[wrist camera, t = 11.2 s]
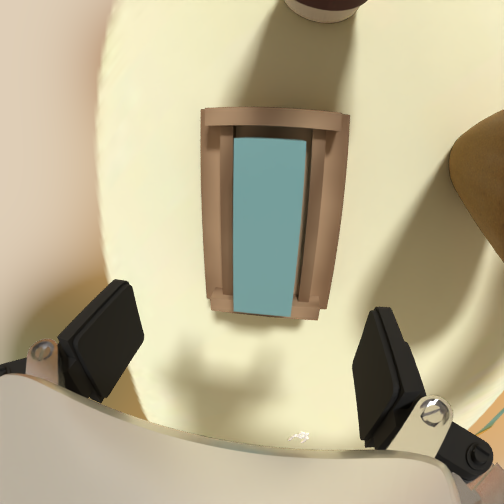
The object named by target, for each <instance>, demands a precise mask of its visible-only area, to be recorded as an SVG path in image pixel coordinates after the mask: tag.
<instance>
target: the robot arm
mask: <svg viewBox="0 0 504 504" xmlns="http://www.w3.org/2000/svg"><path fill="white" fill-rule="evenodd" d="M57 338H58V339H59V344H57V343H56V342H55V341H54V340H52V339H42V340H39V341H37V342H35V343H34V344H33V345H32V346H31V347H30V349H29V350H28V354H27V358H23V359H20V360H16V361H12V362H8V363H4V364H1V365H0V504H504V470H503V469H502V468H501V467H500V465H499V464H498V463H496V464H495V465H494V464H493V463H492V462H493V452H492V448H491V447H490V446H489V444H488V443H487V442H485V441H484V440H482V439H481V438H479V437H477V436H476V435H474V434H472V433H471V432H469V431H467V430H466V429H464V428H462V427H461V426H459V425H458V424H456V423H454V422H453V421H452V420H453V410H452V408H451V405H450V404H449V403H448V402H447V401H446V400H445V399H443V398H442V397H439V396H436V395H429V396H426V393H425V389H424V386H423V383H422V380H421V377H420V374H419V371H418V369H417V366H416V363H415V360H414V357H413V355H412V352H411V349H410V347H409V345H408V343H407V342H404V339H403V337H402V334H401V332H400V329H399V327H398V324H397V322H396V319H395V317H394V314H393V312H392V309H391V308H390V307H375V309H374V311H373V310H371V311H370V312H369V315H368V318H367V321H366V324H365V328H364V331H363V334H362V337H361V340H360V343H359V346H358V349H357V351H356V354H355V357H354V360H353V364H352V370H353V378H354V385H355V393H356V402H357V411H358V420H359V431H360V439H361V440H365V448H367V447H375V450H308V449H290V448H277V447H268V446H259V445H251V444H244V443H238V442H232V441H226V440H220V439H215V438H210V437H205V436H201V435H196V434H192V433H188V432H184V431H180V430H176V429H173V428H169V427H165V426H162V425H159V424H155V423H152V422H149V421H146V420H143V419H140V418H136V417H133V416H131V415H128V414H125V413H122V412H119V411H117V410H114V409H112V408H109V407H107V406H104V405H101V404H99V403H102V401H103V399H104V398H107V397H108V395H109V394H110V393H111V391H112V389H113V388H114V386H115V385H116V383H117V381H118V380H119V378H120V377H121V375H122V373H123V372H124V371H125V369H126V367H127V366H128V364H129V363H130V361H131V360H132V358H133V357H134V355H135V353H136V352H137V350H138V349H139V347H140V346H141V344H142V343H143V340H144V333H143V329H142V325H141V321H140V317H139V313H138V309H137V305H136V301H135V297H134V292H133V288H132V286H131V285H130V284H129V283H128V282H127V281H124V280H117V279H115V280H113V281H112V282H111V283H110V284H109V285H108V286H107V287H106V288H105V289H104V290H103V291H102V292H101V293H100V294H99V295H98V296H97V297H96V298H95V299H94V300H93V301H91V302H90V304H89V305H88V306H87V307H85V308H84V310H83V311H82V312H81V313H80V314H79V315H78V316H77V317H76V318H75V319H74V320H73V321H72V322H71V323H70V324H69V325H68V326H67V327H66V328H65V329H64V330H63V331H62V332H61V333H60V334H59V336H58V337H57ZM89 397H90V398H91V399H92V400H95V401H97V402H99V403H97V402H95V401H92V400H90V399H88V398H89Z"/></svg>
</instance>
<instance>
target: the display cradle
mask: <svg viewBox="0 0 504 504" xmlns="http://www.w3.org/2000/svg"><path fill="white" fill-rule="evenodd" d="M349 124H350V115H345V114H342V113H338V112H330V111H320V110H309V109H295V108H275V107H218V108H205V109H201V197H202V224H203V246H204V264H205V279H206V293H207V298H208V299H210V301H211V310H213V311H222V312H230V313H239V314H248V315H258V316H269V317H280V318H292V319H305V320H318V316H319V311H320V309H327V304H328V299H329V293H330V288H331V282H332V277H333V271H334V265H335V259H336V252H337V246H338V239H339V232H340V224H341V216H342V208H343V199H344V190H345V180H346V169H347V157H348V142H349ZM241 137H263V138H283V139H298V140H304V141H306V157H305V173H304V188H303V201H302V213H301V225H300V236H299V246H298V256H297V266H296V275H295V284H294V292H293V301H292V309H291V316H290V317H285V316H274V315H263V314H254V313H244V312H235V311H234V302H233V169H234V138H241Z"/></svg>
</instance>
